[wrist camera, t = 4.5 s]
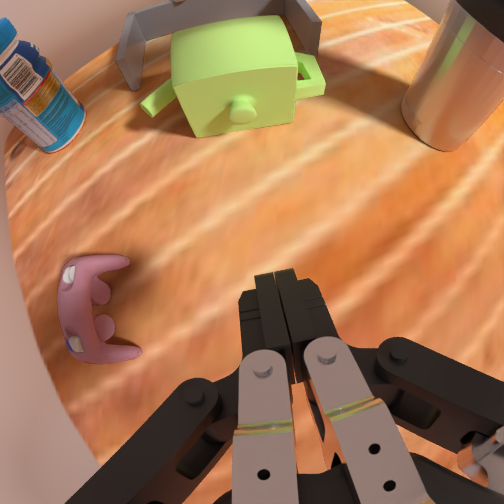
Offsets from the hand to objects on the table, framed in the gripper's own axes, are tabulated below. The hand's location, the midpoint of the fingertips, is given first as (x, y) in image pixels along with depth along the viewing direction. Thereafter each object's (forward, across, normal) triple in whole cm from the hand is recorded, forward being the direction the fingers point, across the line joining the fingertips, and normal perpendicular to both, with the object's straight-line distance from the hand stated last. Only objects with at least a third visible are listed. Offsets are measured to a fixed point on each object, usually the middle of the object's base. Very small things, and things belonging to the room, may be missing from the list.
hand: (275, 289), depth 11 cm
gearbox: (+24, 0, -5) cm, 25 cm away
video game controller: (+11, +15, +8) cm, 20 cm away
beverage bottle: (+28, +23, -9) cm, 38 cm away
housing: (+35, 0, -16) cm, 38 cm away
